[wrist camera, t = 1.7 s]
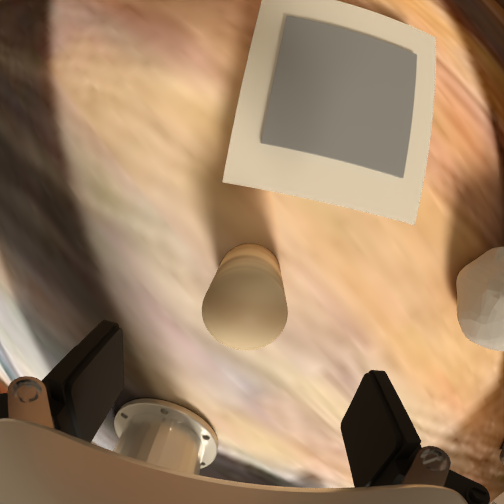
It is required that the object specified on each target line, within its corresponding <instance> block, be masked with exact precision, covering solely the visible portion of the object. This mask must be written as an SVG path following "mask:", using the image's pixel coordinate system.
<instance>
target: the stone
mask: <svg viewBox="0 0 504 504" xmlns="http://www.w3.org/2000/svg"><path fill="white" fill-rule="evenodd" d="M500 460H501V462H502V464H503V465H504V443H503V447H502V452H501V454H500Z"/></svg>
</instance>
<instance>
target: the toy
mask: <svg viewBox="0 0 504 504" xmlns="http://www.w3.org/2000/svg"><path fill="white" fill-rule="evenodd" d="M456 287H457V317H458V321H459V324H460V326H461V329H462V331H463V333H464V334H465V336H466V337H467V338H468V339H469V340H470V341H472V342H474V343H476V344H478V345H480V346H482V347H485V348H488V349H491V350H497V351H504V246H503V247H495V248H492V249H490V250H488V251H486V252H485V253H484V254H482V255H481V256H480V257H478V258H477V259H475V260H474V261H472V262H471V263H469V264H468V265H466V266H465V267H464V268H463V269H462V270H461V271H460V272H459V274H458V276H457V280H456Z"/></svg>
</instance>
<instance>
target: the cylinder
mask: <svg viewBox="0 0 504 504" xmlns="http://www.w3.org/2000/svg"><path fill="white" fill-rule="evenodd" d="M287 315H288V310H287V303H286V297H285V292H284V287H283V281H282V276H281V271H280V266H279V263H278V261H277V259H276V257H275V256H274V254H273V253H272V252H271V251H269V250H268V249H267V248H265V247H263V246H261V245H257V244H242V245H239V246H236V247H235V248H233V249H232V250H230V251H229V252H228V253H227V254H226V255H225V257H224V259H223V260H222V262H221V264H220V266H219V268H218V270H217V272H216V275H215V277H214V279H213V281H212V283H211V285H210V287H209V289H208V291H207V293H206V295H205V297H204V300H203V305H202V316H203V321H204V323H205V326H206V328H207V330H208V331H209V332H210V334H211V335H212V336H213V337H214V338H215V339H216V340H217V341H219V342H220V343H222V344H224V345H226V346H228V347H230V348H234V349H238V350H254V349H259V348H261V347H264V346H266V345H268V344H270V343H271V342H273V341H274V340H275V339H276V338H277V337H278V336H279V335H280V334H281V332H282V331H283V329H284V327H285V324H286V321H287Z"/></svg>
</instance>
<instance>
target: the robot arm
mask: <svg viewBox="0 0 504 504" xmlns="http://www.w3.org/2000/svg"><path fill="white" fill-rule="evenodd" d="M123 386H124V369H123V334H122V329H121V328H119V326H118V324H117V323H114V322H110V321H107V320H103V321H102V322H101V323H100V324H98V325H97V326H96V327H95V328H94V329H93V330H92V331H91V332H90V333H89V334H88V335H87V336H86V337H85V338H84V339H83V340H82V341H81V342H80V343H79V344H78V345H77V346H75V347H74V348H73V349H72V350H71V351H70V352H69V353H68V354H67V355H66V356H65V357H64V358H63V359H62V360H61V361H60V362H59V363H58V364H57V365H56V366H55V367H54V368H53V370H52V371H51V372H50V373H49V374H48V375H47V376H46V377H45V378H44V379H43V380H42V381H40V380H39V379H37V378H34V377H28V376H24V377H19V378H17V379H15V380H14V381H12V382H11V383H10V385H9V386H8V391H7V393H3V394H0V504H490V503H489V501H490V496H489V493H488V491H487V489H486V488H485V487H484V486H482V485H481V484H479V483H477V482H474V481H472V480H470V479H468V478H466V477H464V476H462V475H460V474H458V473H456V472H453V471H451V470H449V469H450V464H451V462H450V458H449V457H448V455H447V454H446V453H445V452H444V451H443V450H441V449H440V448H437V447H434V446H426V447H423V448H422V447H421V445H420V443H421V440H420V438H419V436H418V434H417V432H416V430H415V428H414V426H413V424H412V422H411V420H410V418H409V416H408V414H407V412H406V410H405V408H404V406H403V404H402V402H401V400H400V398H399V397H398V395H397V393H396V391H395V389H394V387H393V385H392V383H391V381H390V380H389V378H388V376H387V374H386V372H385V371H377V370H371V371H369V373H366V374H365V375H364V376H363V378H362V381H361V383H360V385H359V387H358V389H357V391H356V394H355V396H354V398H353V400H352V402H351V404H350V406H349V408H348V410H347V412H346V414H345V416H344V418H343V420H342V422H341V432H342V436H343V440H344V444H345V448H346V452H347V456H348V460H349V465H350V469H351V473H352V478H353V482H354V486H355V488H294V487H279V486H267V485H257V484H248V483H240V482H233V481H227V480H221V479H215V478H210V477H204V476H199V472H200V469H201V468H204V467H206V466H208V465H209V464H211V463H212V462H213V460H214V459H215V458H216V455H217V451H218V439H217V437H216V434H215V432H214V431H213V430H212V428H211V427H210V426H209V425H208V424H207V423H206V422H205V421H204V420H203V419H202V418H201V417H199V416H198V415H196V414H195V413H193V412H192V411H190V410H188V409H186V408H184V407H182V406H179V405H177V404H174V403H171V402H167V401H164V400H158V399H145V398H143V399H136V400H132V401H130V402H127V403H126V404H124V405H123V406H122V407H121V408H120V409H119V411H118V413H117V415H116V417H115V421H114V425H115V430H116V433H117V435H118V437H119V440H118V442H117V444H116V446H115V448H114V450H113V451H111V450H108V449H105V448H102V447H100V446H97V445H94V444H92V443H91V441H92V439H93V438H94V436H95V434H96V433H97V431H98V429H99V428H100V426H101V424H102V423H103V421H104V419H105V418H106V416H107V414H108V413H109V411H110V409H111V408H112V406H113V404H114V403H115V401H116V399H117V398H118V396H119V395H120V393H121V391H122V389H123ZM491 504H496V503H495V502H492V503H491Z"/></svg>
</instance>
